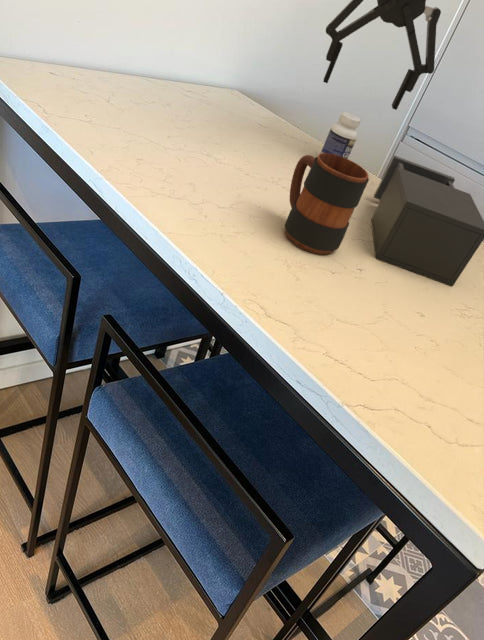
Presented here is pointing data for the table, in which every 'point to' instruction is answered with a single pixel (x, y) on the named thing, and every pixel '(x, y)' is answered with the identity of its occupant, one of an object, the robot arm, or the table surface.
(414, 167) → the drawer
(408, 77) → the robot arm
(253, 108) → the table surface
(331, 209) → the mug
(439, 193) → the charcoal bevelled cube
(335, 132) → the pill bottle
